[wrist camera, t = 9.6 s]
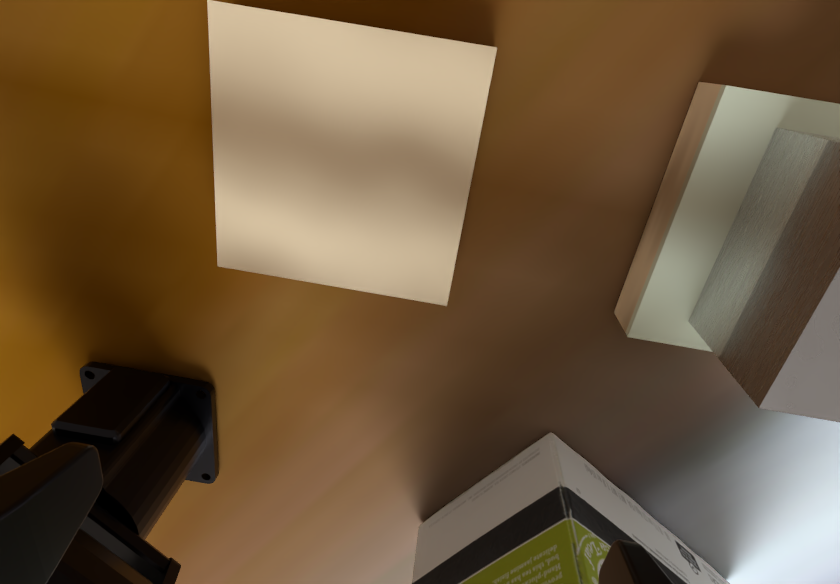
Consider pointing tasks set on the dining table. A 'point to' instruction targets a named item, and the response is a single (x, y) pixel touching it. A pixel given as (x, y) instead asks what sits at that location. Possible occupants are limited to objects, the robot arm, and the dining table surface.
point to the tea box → (544, 527)
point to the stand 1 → (342, 149)
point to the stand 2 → (705, 202)
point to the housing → (782, 281)
